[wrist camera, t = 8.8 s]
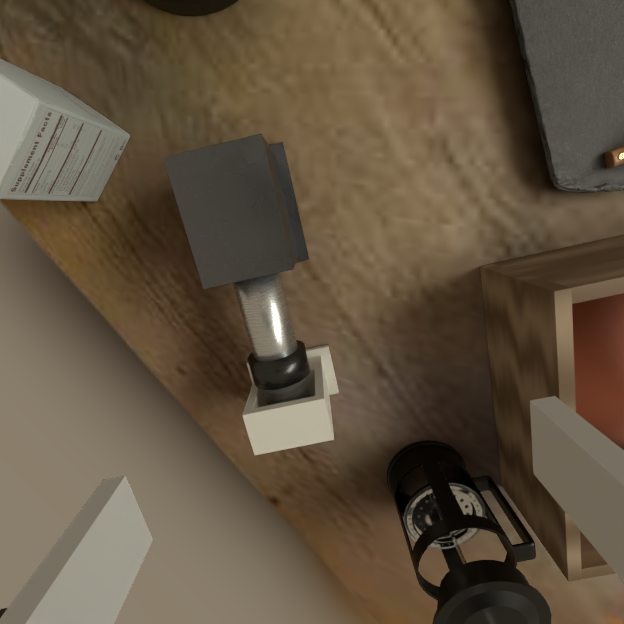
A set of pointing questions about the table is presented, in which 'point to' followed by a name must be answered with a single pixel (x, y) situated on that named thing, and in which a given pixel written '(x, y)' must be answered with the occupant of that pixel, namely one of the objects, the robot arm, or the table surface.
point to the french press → (459, 529)
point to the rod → (272, 340)
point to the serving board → (576, 87)
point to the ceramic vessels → (600, 364)
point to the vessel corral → (542, 373)
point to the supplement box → (52, 141)
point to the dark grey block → (238, 209)
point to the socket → (294, 410)
